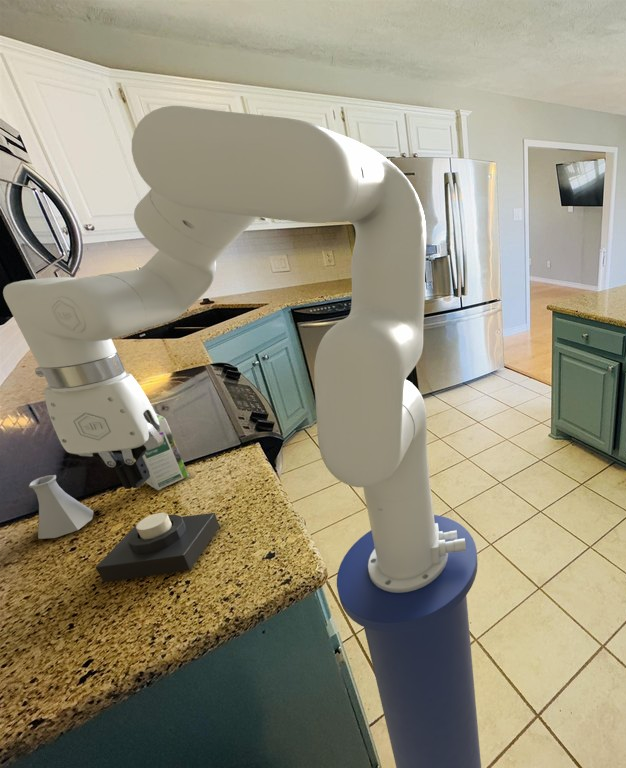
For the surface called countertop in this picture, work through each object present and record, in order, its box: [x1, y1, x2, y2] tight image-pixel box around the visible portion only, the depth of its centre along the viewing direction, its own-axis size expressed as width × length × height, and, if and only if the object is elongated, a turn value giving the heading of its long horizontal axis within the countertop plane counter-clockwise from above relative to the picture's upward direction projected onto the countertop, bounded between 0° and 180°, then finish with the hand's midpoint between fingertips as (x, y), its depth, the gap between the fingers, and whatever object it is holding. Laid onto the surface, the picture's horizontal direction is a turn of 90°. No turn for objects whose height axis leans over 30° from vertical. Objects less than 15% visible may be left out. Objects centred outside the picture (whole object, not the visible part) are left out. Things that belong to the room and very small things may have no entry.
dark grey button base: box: [95, 512, 220, 583], centre depth 67 cm, size 12×10×5 cm
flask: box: [28, 474, 94, 540], centre depth 72 cm, size 7×7×10 cm
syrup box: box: [143, 412, 189, 492], centre depth 84 cm, size 6×6×14 cm
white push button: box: [135, 512, 172, 540], centre depth 66 cm, size 4×4×2 cm
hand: (138, 482), depth 62 cm, fingers closed
